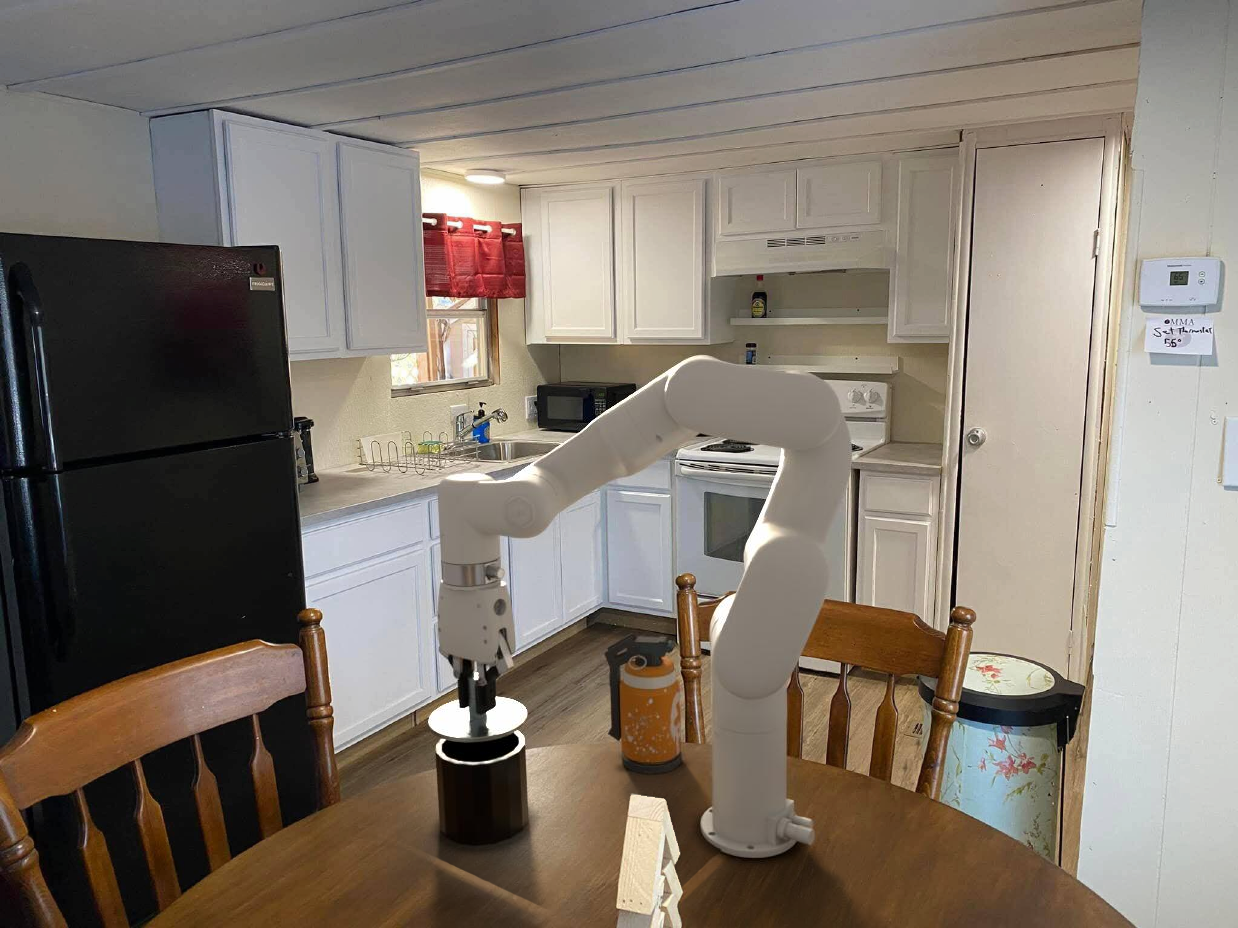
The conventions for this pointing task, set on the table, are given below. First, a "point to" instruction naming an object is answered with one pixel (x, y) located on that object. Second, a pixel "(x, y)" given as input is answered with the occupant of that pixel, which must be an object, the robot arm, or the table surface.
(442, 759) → the dark pen holder
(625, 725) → the canister
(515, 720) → the lid
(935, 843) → the table surface
